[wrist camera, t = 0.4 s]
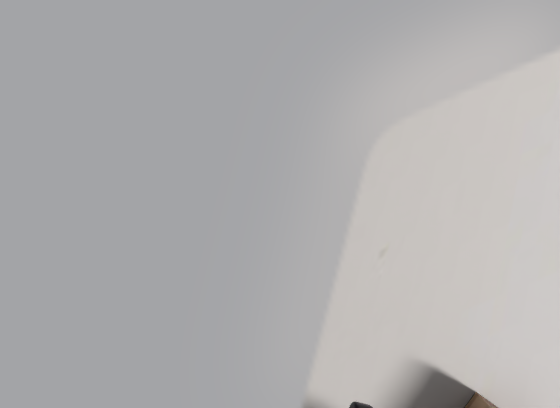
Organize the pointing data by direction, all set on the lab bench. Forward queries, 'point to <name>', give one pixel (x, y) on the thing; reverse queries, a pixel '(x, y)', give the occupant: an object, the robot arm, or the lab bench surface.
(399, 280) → the lab bench surface
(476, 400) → the socket
